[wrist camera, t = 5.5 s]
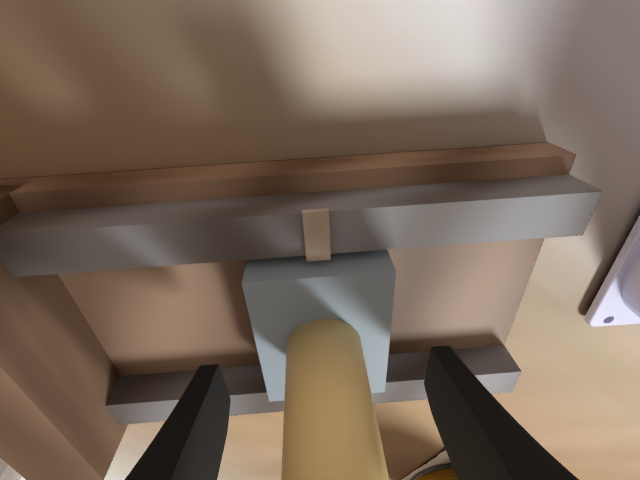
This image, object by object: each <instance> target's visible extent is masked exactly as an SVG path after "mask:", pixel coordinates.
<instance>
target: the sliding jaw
mask: <svg viewBox="0 0 640 480" xmlns="http://www.w3.org/2000/svg"><path fill="white" fill-rule="evenodd" d="M395 281H396V269H395V267H394V265H393V262H392V260H391V257H390V255H389V252H388V250H375V251H361V252H348V253H334V254H331V260H320V261H307V260H306V256H293V257H280V258H266V259H253V260H247V262H246V266H245V271H244V275H243V279H242V287H243V291H244V295H245V300H246V304H247V308H248V313H249V317H250V321H251V325H252V330H253V334H254V338H255V343H256V347H257V351H258V356H259V360H260V364H261V368H262V373H263V377H264V381H265V386H266V390H267V394H268V398H269V402H271V401H284V425H283V452H282V478H281V480H389V476H388V472H387V467H386V462H385V457H384V452H383V447H382V442H381V437H380V432H379V427H378V422H377V417H376V413H375V408H374V403H373V398H372V393H380V392H385V386H386V375H387V365H388V354H389V344H390V333H391V323H392V312H393V302H394V291H395Z"/></svg>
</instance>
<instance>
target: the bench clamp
mask: <svg viewBox="0 0 640 480" xmlns="http://www.w3.org/2000/svg"><path fill="white" fill-rule="evenodd" d="M575 156H576V154H573V153H571V152H569V151H567V150H564V149H562V148H560V147H557V146H555V145H553V144H550V143H548V142H545V143H530V144H515V145H501V146H486V147H471V148H456V149H442V150H427V151H412V152H397V153H383V154H368V155H353V156H338V157H324V158H309V159H294V160H279V161H265V162H250V163H235V164H220V165H206V166H191V167H176V168H161V169H147V170H132V171H117V172H102V173H88V174H73V175H58V176H43V177H29V178H14V179H0V458H1V459H2V460H3V461H4V462H6V463H7V464H8V465H9V466H10V467H12V468H13V469H14V470H15V471H16V472H18V473H19V474H20V475H21V476H22V477H24V478H25V479H26V480H104V478H105V476H106V473H107V471H108V469H109V467H110V464H111V462H112V460H113V457H114V455H115V453H116V451H117V448H118V446H119V444H120V441H121V439H122V437H123V434H124V432H125V430H126V428H127V425H128V424H135V423H147V422H159V421H166V420H167V418H168V417H169V415H170V414H171V412H172V411H173V409H174V407H175V406H176V404H177V402H178V401H179V399H180V398H181V396H182V394H183V393H184V391H185V389H186V388H187V386H188V384H189V383H190V381H191V379H192V377H193V376H194V374H195V372H196V370H197V369H198V367H199V366H200V365H211V364H219V366H220V369H221V372H222V375H223V378H224V381H225V384H226V387H227V390H228V393H229V396H230V399H231V402H230V412H229V416H231V415H243V414H255V413H267V412H279V411H284V401H271V402H269V398H268V394H267V390H266V386H265V381H264V377H263V373H262V368H261V364H260V360H259V356H258V351H257V347H256V343H255V338H254V334H253V330H252V325H251V321H250V317H249V313H248V308H247V304H246V300H245V295H244V291H243V287H242V279H243V275H244V271H245V266H246V262H247V260H253V259H266V258H280V257H293V256H306V260H307V261H320V260H331V254H334V253H348V252H361V251H375V250H388V252H389V255H390V257H391V260H392V262H393V265H394V267H395V269H396V281H395V291H394V302H393V312H392V323H391V333H390V344H389V354H388V365H387V375H386V386H385V392H380V393H372V398H373V403H374V404H375V403H387V402H399V401H411V400H423V399H428V398H427V394H426V390H425V386H424V380H425V375H426V370H427V365H428V360H429V355H430V350H431V347H436V346H450V347H451V348H452V349H453V350H454V351H455V353H456V354H457V355H458V356H459V357H460V359H461V360H462V361H463V362H464V363H465V365H466V366H467V367H468V368H469V369H470V371H471V372H472V373H473V374H474V375H475V376H476V378H477V379H478V380H479V381H480V382H481V383H482V384H483V386H484V387H485V388H486V389H487V390H488V391H489V392H490V393H491V394H495V393H507V392H512V391H513V389H514V387H515V385H516V383H517V380H518V378H519V376H520V374H521V370H520V369H519V367H518V366H517V364H516V363H515V361H514V360H513V358H512V357H511V355H510V354H509V352H508V350H507V349H506V347H505V346H504V344H505V342H506V339H507V336H508V334H509V331H510V328H511V326H512V323H513V320H514V318H515V315H516V313H517V310H518V307H519V305H520V302H521V299H522V297H523V294H524V291H525V289H526V286H527V283H528V281H529V278H530V276H531V273H532V270H533V268H534V265H535V262H536V260H537V257H538V254H539V252H540V249H541V246H542V244H543V241H544V238H551V237H565V236H578V235H583V234H584V231H585V229H586V227H587V225H588V222H589V220H590V218H591V216H592V214H593V211H594V209H595V207H596V205H597V202H598V200H599V198H600V196H601V194H602V191H600V190H598V189H596V188H594V187H592V186H590V185H589V184H587V183H585V182H583V181H581V180H579V179H577V178H575V177H573V176H571V175H569V172H570V170H571V167H572V164H573V162H574V159H575Z"/></svg>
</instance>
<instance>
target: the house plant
mask: <svg viewBox="0 0 640 480" xmlns="http://www.w3.org/2000/svg"><path fill="white" fill-rule="evenodd" d="M20 478H21V475H20V474H19V473H18V472H16V471H15V470H14V469H13V468H12V467H10V466H9V465H8V464H7V463H6V462H4V461H3V460H2V459H1V458H0V480H20Z"/></svg>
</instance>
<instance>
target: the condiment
mask: <svg viewBox="0 0 640 480" xmlns="http://www.w3.org/2000/svg"><path fill="white" fill-rule="evenodd" d="M449 461H450V459H449V457H448V454H447V452H446V450H445V451H444V452H441V453H440V454H439V455H438V456H437V457H436V458H434V459H432V460H430V461H429V462H428V463H427V464H424V465H423V466H422V467H420V468H418V469H416V470H414V471H413V472H412V473H410V474H409V475H408V476H406V477H405V478H404V479H402V480H457V477H456V475H455V472H454V469H453V467H452V464H451V462H449Z"/></svg>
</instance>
